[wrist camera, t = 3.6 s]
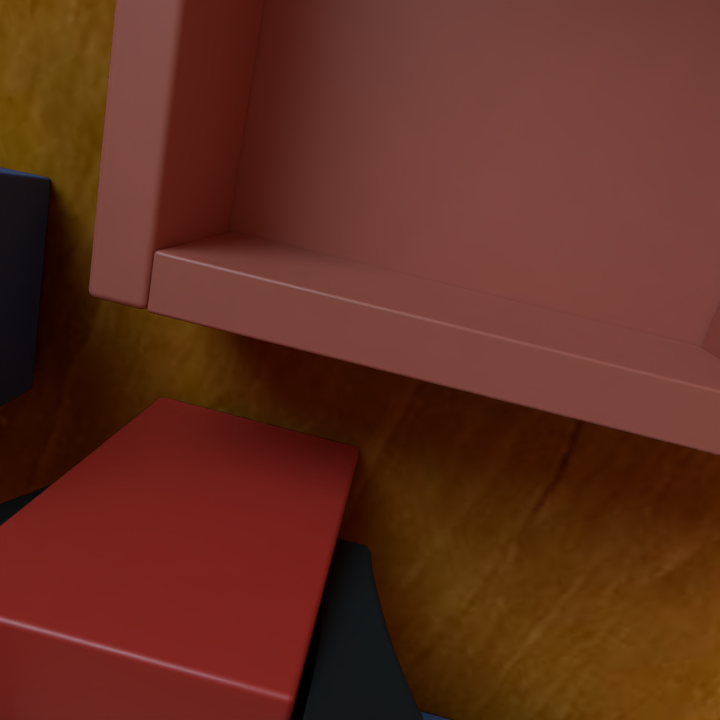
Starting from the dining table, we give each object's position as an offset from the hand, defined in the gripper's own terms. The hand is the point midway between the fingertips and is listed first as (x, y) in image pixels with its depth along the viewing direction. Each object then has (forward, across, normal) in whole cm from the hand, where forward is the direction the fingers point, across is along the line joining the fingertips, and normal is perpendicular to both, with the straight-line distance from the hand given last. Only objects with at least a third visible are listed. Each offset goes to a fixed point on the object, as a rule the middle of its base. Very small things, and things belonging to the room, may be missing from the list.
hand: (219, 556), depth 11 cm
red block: (+2, 0, 0) cm, 2 cm away
